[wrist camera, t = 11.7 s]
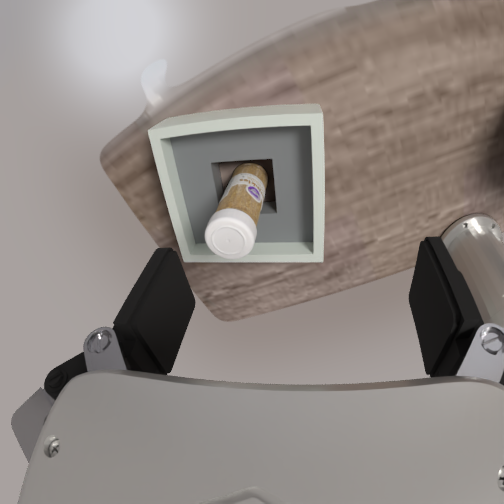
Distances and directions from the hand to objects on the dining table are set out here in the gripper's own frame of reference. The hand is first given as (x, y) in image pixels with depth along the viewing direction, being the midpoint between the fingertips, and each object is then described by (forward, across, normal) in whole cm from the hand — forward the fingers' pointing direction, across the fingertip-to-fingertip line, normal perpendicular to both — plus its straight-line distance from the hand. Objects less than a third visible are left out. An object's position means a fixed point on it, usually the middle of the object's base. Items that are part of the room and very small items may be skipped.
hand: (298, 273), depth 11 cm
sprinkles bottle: (+26, +7, +7) cm, 28 cm away
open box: (+26, +7, +7) cm, 28 cm away
